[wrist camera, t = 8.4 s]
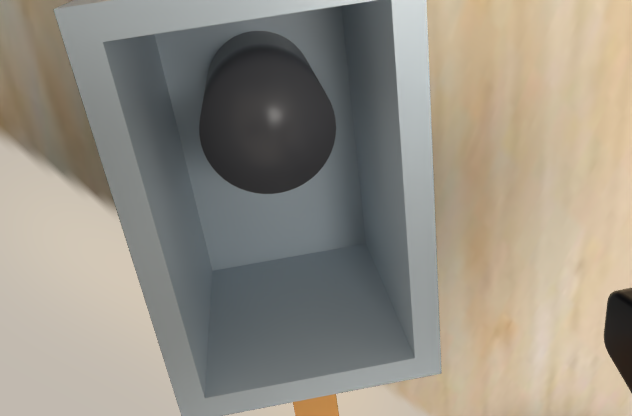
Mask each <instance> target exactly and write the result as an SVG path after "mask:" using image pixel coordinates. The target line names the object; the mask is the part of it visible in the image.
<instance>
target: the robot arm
mask: <svg viewBox="0 0 632 416" xmlns="http://www.w3.org/2000/svg"><path fill="white" fill-rule="evenodd" d="M604 342H605V346H606V349H607V351H608V353H609V355H610V357H611V359H612V360H613V362H614V364H615V365H616V367H617V369H618V371H619V372H620V374H621V376H622V377H623V379H624V381H625V382H626V384H627V386H628V388H629V389H630V391H631V393H632V288H628V289H623V290H618V291H614V292H613V293H611V294H610V296H609V298H608V302H607V311H606V320H605V329H604Z"/></svg>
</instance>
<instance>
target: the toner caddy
mask: <svg viewBox="0 0 632 416" xmlns="http://www.w3.org/2000/svg"><path fill="white" fill-rule="evenodd" d="M53 10H54V13H55V16H56V20H57V23H58V26H59V29H60V32H61V35H62V39H63V42H64V45H65V48H66V51H67V54H68V58H69V61H70V64H71V67H72V70H73V73H74V77H75V80H76V83H77V86H78V89H79V92H80V96H81V99H82V102H83V105H84V108H85V111H86V115H87V118H88V121H89V124H90V127H91V130H92V134H93V137H94V140H95V143H96V146H97V149H98V153H99V156H100V159H101V162H102V165H103V169H104V172H105V175H106V178H107V181H108V184H109V188H110V191H111V194H112V197H113V200H114V203H115V207H116V210H117V213H118V216H119V219H120V222H121V226H122V229H123V231H124V235H125V238H126V241H127V245H128V248H129V251H130V254H131V257H132V260H133V263H134V267H135V270H136V273H137V276H138V279H139V282H140V285H141V289H142V292H143V295H144V298H145V301H146V305H147V308H148V311H149V314H150V317H151V321H152V324H153V327H154V330H155V333H156V336H157V340H158V343H159V346H160V349H161V352H162V355H163V359H164V361H165V365H166V368H167V371H168V374H169V378H170V381H171V384H172V387H173V390H174V393H175V397H176V400H177V403H178V406H179V409H180V412H181V416H223V415H229V414H234V413H239V412H244V411H249V410H255V409H260V408H265V407H270V406H275V405H280V404H285V403H290V402H293V405H294V410H295V414H296V416H339V412H338V405H337V398H336V394H338V393H343V392H348V391H353V390H358V389H364V388H368V387H374V386H379V385H384V384H389V383H395V382H400V381H405V380H410V379H415V378H421V377H426V376H431V375H436V374H441V349H440V325H439V300H438V275H437V250H436V225H435V200H434V175H433V150H432V126H431V101H430V76H429V51H428V26H427V1H426V0H73V1H71V2H69V3H66V4H64V5H62V6H59V7H57V8H55V9H53ZM250 31H268V32H272V33H276V34H279V35H281V36H283V37H285V38H287V39H288V40H290V41H291V42H292V43H294V44H295V45H296V46H297V47H298V48H299V49H300V50H301V52H302V53H303V55H304V56H305V58H306V60H307V61H308V63H309V65H310V67H311V68H312V70H313V72H314V73H315V75H316V77H317V79H318V80H319V82H320V84H321V86H322V87H323V89H324V91H325V93H326V94H327V96H328V98H329V100H330V102H331V105H332V107H333V110H334V114H335V119H336V137H335V142H334V146H333V149H332V152H331V154H330V156H329V158H328V160H327V161H326V163H325V164H324V166H323V167H322V168H321V170H320V171H319V172H318V173H317V174H316V175H315V176H314V177H313V178H312V179H310V180H309V181H307V182H306V183H305V184H303V185H301V186H299V187H297V188H295V189H292V190H289V191H286V192H282V193H275V194H259V193H253V192H248V191H245V190H242V189H240V188H238V187H236V186H234V185H232V184H230V183H229V182H227V181H226V180H224V179H223V178H222V177H221V176H220V175H219V174H218V173H217V172H216V171H215V170H214V169H213V168H212V166H211V165H210V163H209V162H208V160H207V158H206V156H205V154H204V152H203V149H202V146H201V141H200V136H199V123H200V115H201V109H202V103H203V98H204V92H205V86H206V80H207V74H208V70H209V66H210V64H211V61H212V59H213V57H214V55H215V54H216V53H217V51H218V50H219V49H220V48H221V47H222V46H223V45H224V44H225V43H226V42H227V41H228V40H230V39H232V38H233V37H235V36H237V35H240V34H242V33H246V32H250Z"/></svg>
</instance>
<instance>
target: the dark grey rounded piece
mask: <svg viewBox="0 0 632 416" xmlns="http://www.w3.org/2000/svg"><path fill="white" fill-rule="evenodd" d="M199 136H200V141H201V146H202V149H203V152H204V154H205V156H206V158H207V160H208V162H209V163H210V165H211V166H212V168H213V169H214V170H215V171H216V172H217V173H218V174H219V175H220V176H221V177H222V178H223V179H224V180H226V181H227V182H229V183H230V184H232V185H234V186H236V187H238V188H240V189H242V190H245V191H248V192H253V193H259V194H275V193H282V192H286V191H289V190H292V189H295V188H297V187H299V186H301V185H303V184H305V183H306V182H307V181H309V180H310V179H312V178H313V177H314V176H315V175H316V174H317V173H318V172H319V171H320V170H321V168H322V167H323V166H324V164H325V163H326V161H327V160H328V158H329V156H330V154H331V152H332V149H333V146H334V142H335V137H336V119H335V114H334V110H333V107H332V105H331V102H330V100H329V98H328V96H327V94H326V93H325V91H324V89H323V87H322V86H321V84H320V82H319V80H318V79H317V77H316V75H315V73H314V72H313V70H312V68H311V67H310V65H309V63H308V61H307V60H306V58H305V56H304V55H303V53H302V52H301V50H300V49H299V48H298V47H297V46H296V45H295V44H294V43H292V42H291V41H290V40H288V39H287V38H285V37H283V36H281V35H279V34H276V33H272V32H268V31H250V32H246V33H242V34H240V35H237V36H235V37H233V38H232V39H230V40H228V41H227V42H226V43H225V44H224V45H223V46H222V47H221V48H220V49H219V50H218V51H217V53H216V54H215V55H214V57H213V59H212V61H211V64H210V66H209V70H208V74H207V80H206V86H205V92H204V98H203V103H202V109H201V115H200V123H199Z"/></svg>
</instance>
